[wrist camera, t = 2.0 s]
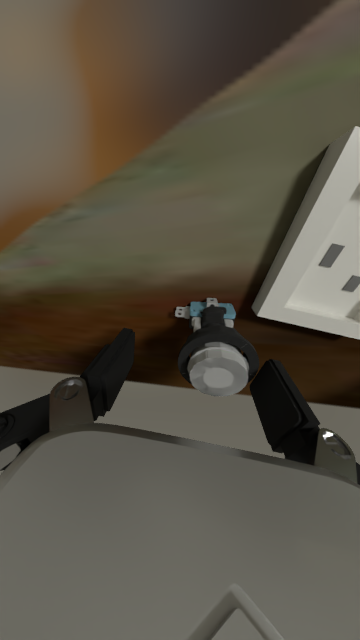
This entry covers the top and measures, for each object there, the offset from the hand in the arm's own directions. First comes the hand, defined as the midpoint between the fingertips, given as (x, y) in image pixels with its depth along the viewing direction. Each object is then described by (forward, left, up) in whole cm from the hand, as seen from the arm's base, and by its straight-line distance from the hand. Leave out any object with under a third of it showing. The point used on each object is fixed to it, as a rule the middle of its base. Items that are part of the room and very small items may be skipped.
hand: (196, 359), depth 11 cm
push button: (-1, 0, -9) cm, 9 cm away
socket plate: (-12, -8, -9) cm, 17 cm away
